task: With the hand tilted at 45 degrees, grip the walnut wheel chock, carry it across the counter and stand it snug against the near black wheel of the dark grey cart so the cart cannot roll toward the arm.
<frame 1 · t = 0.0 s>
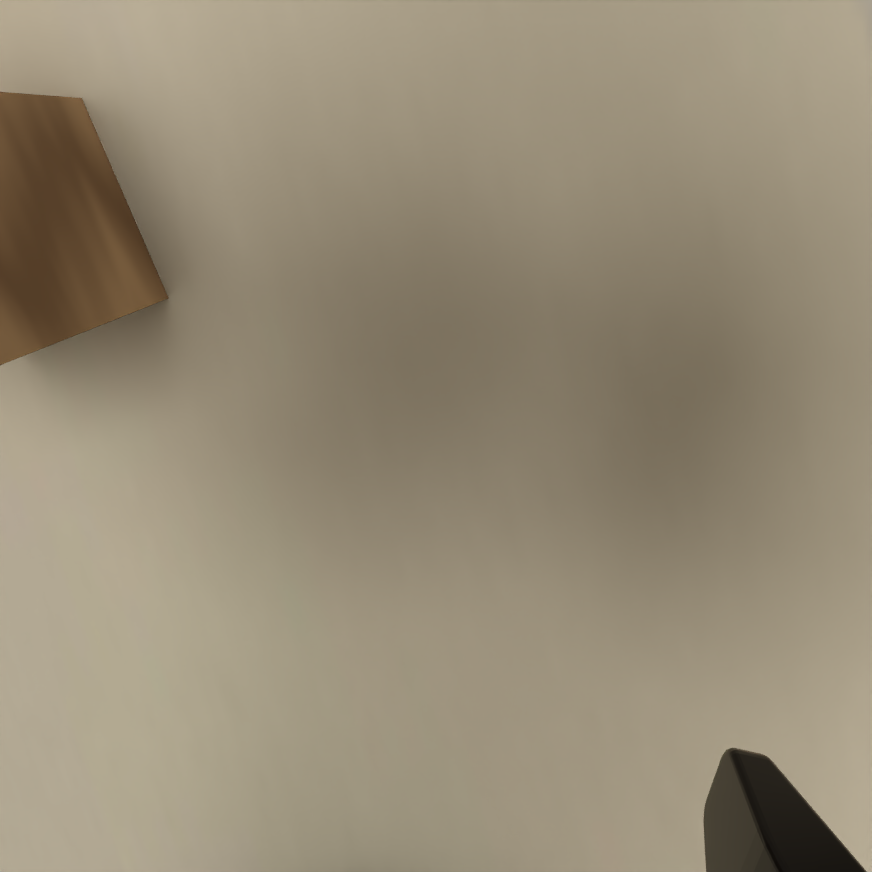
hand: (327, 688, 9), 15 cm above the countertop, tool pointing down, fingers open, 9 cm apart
chock: (47, 232, 23), on the countertop
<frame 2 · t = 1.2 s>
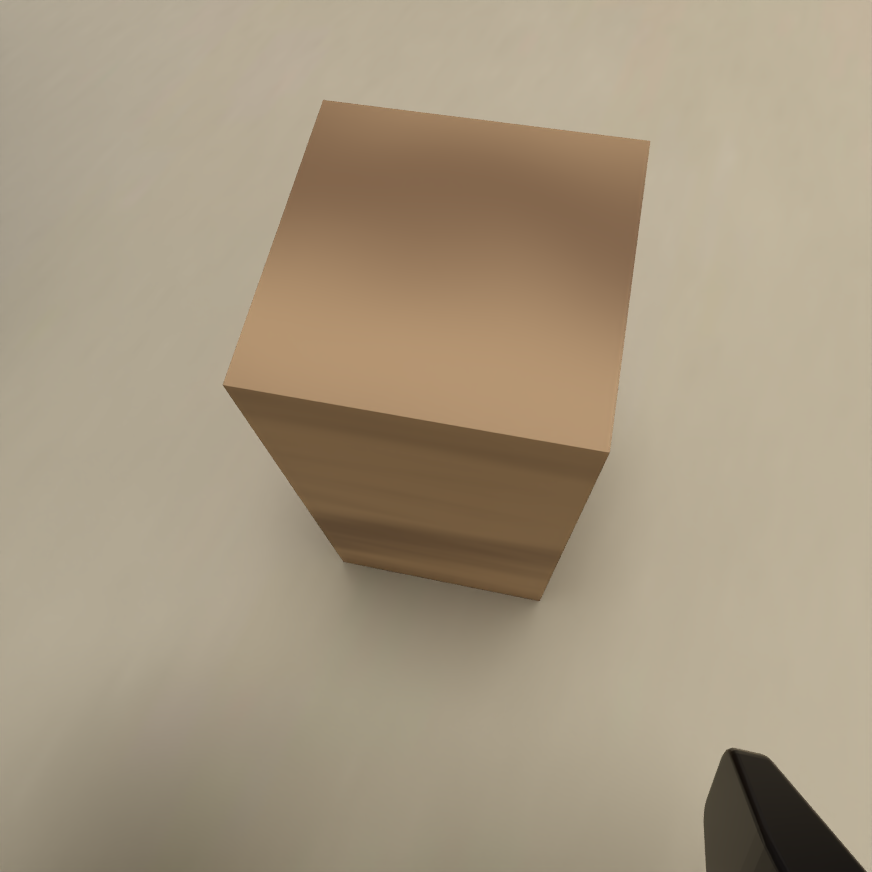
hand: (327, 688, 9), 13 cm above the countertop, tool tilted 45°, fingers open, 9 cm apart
chock: (459, 487, 23), on the countertop
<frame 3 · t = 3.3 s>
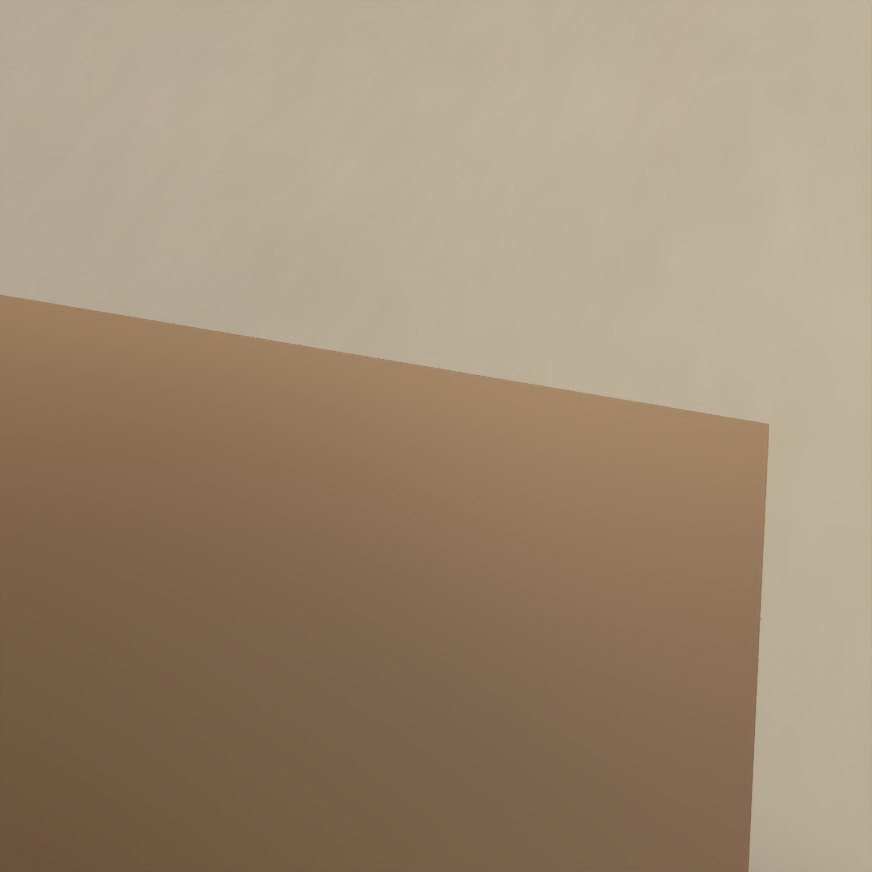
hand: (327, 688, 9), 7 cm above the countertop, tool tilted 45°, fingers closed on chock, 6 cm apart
chock: (369, 787, 14), on the countertop, touching gripper
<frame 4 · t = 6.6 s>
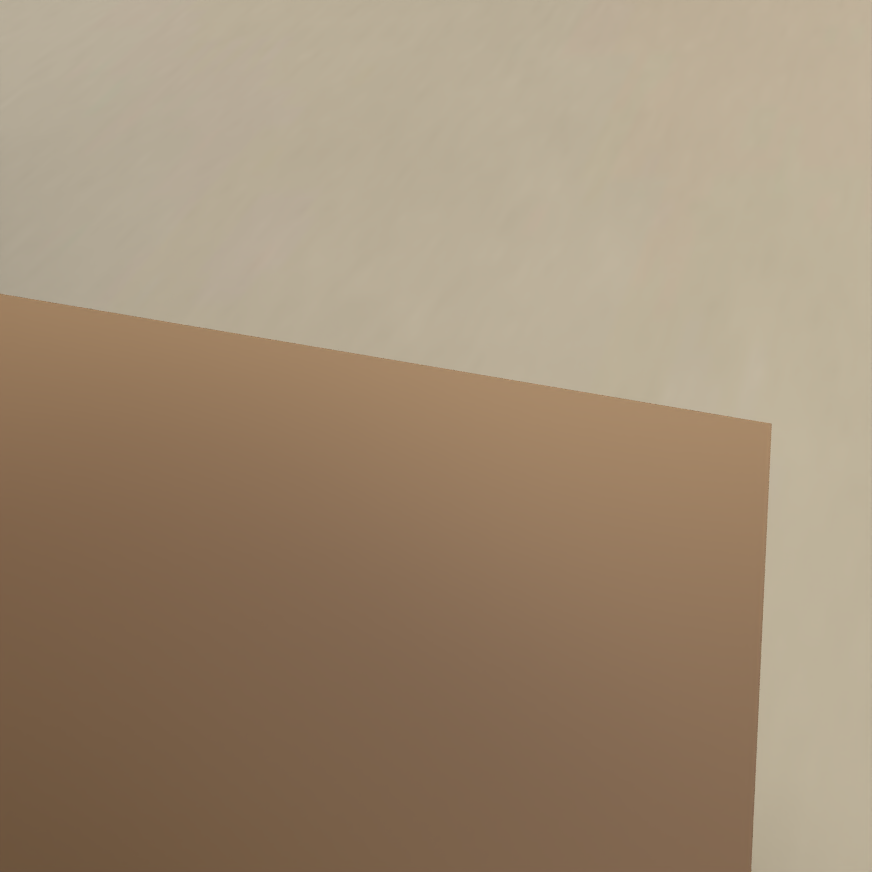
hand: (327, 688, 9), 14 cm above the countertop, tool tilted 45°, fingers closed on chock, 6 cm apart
chock: (370, 787, 14), point 7 cm above the countertop, touching gripper
when the fingers open (8 cm above the countertop, at t = 10.3 s): chock drops 1 cm, on the countertop.
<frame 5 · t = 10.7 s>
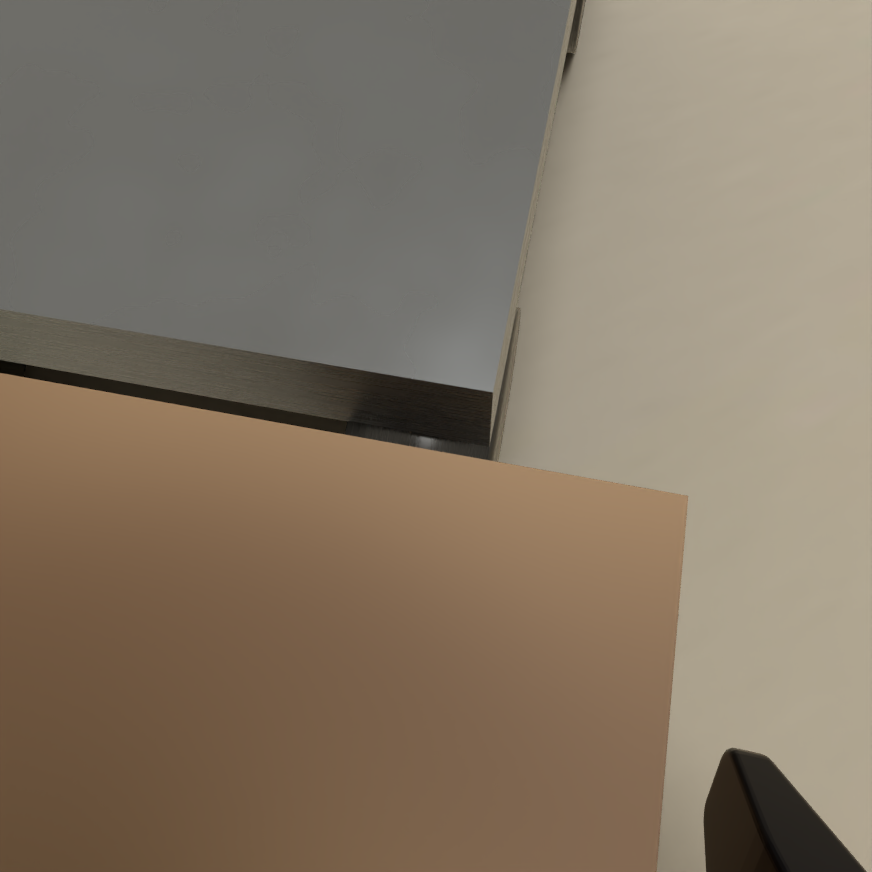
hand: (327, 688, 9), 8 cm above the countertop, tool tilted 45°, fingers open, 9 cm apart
trolley: (238, 55, 17), point 5 cm above the countertop, slide at 0.0 cm
chock: (377, 779, 16), on the countertop
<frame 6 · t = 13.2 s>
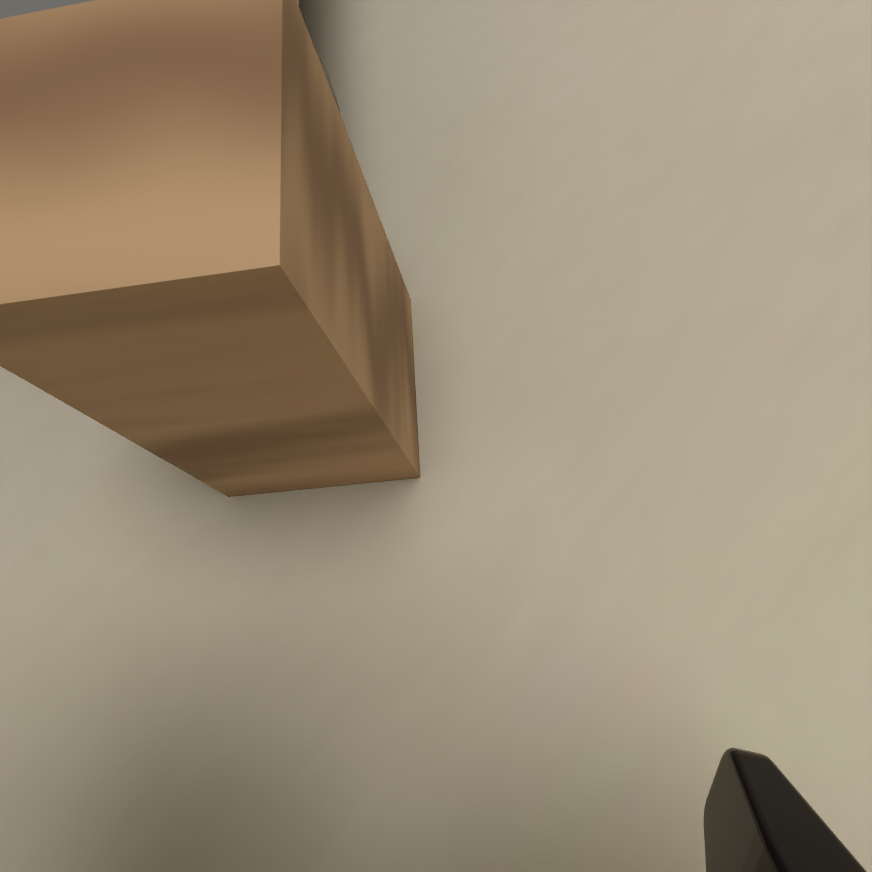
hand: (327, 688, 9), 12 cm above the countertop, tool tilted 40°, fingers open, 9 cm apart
chock: (321, 395, 24), on the countertop
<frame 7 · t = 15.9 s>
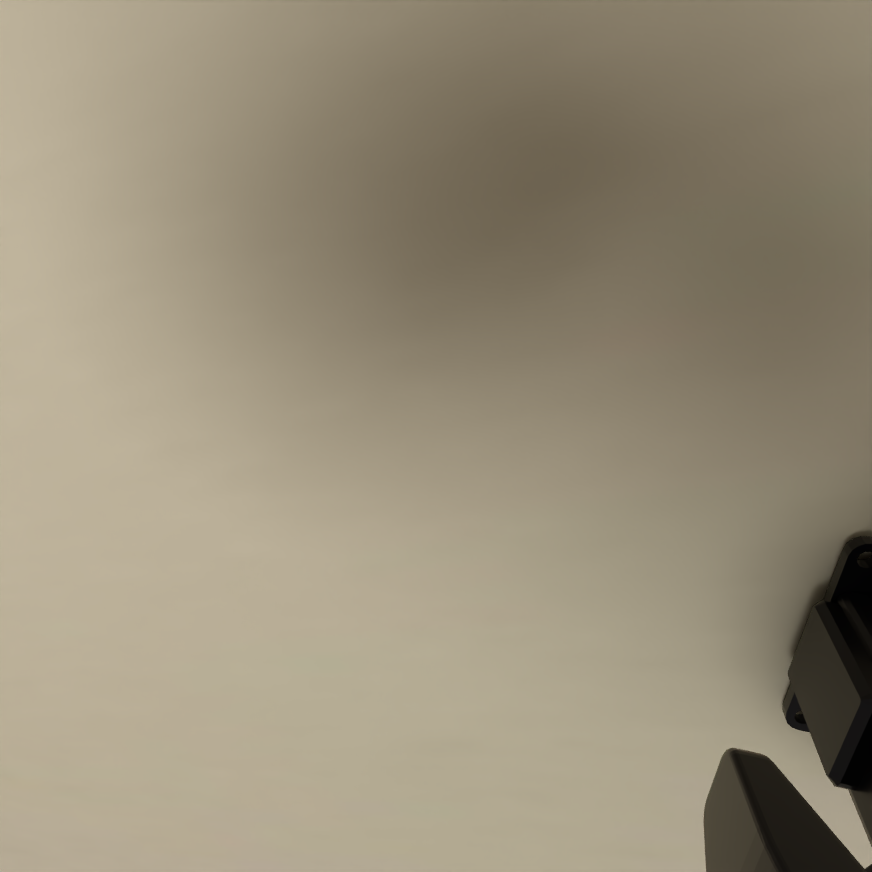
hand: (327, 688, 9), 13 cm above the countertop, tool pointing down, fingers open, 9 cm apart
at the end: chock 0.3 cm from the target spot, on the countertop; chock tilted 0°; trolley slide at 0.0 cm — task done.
